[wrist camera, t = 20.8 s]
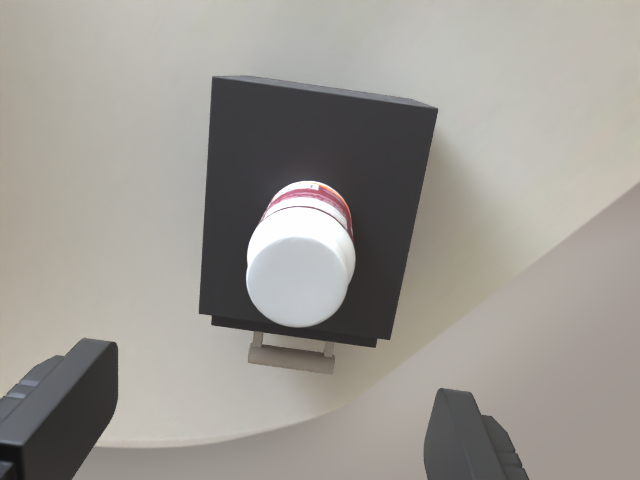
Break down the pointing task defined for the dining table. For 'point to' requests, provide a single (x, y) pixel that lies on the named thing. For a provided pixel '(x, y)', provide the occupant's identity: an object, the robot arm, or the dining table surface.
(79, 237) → the dining table surface
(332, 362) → the drawer
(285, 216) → the pill bottle
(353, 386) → the dining table surface
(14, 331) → the dining table surface
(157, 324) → the dining table surface
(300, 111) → the cabinet
